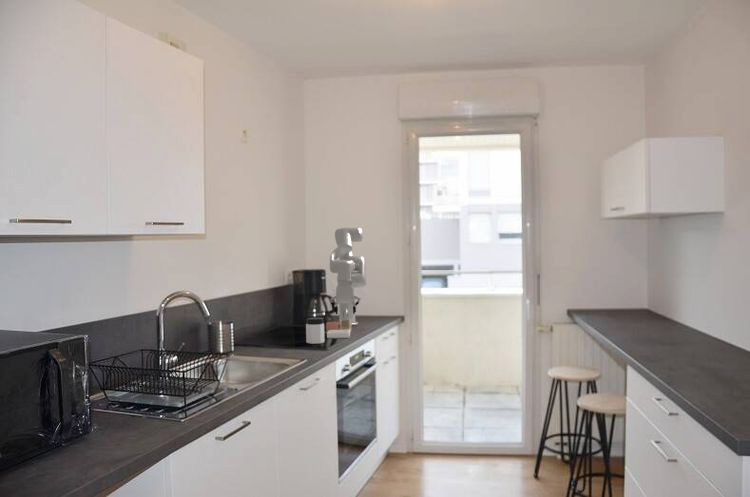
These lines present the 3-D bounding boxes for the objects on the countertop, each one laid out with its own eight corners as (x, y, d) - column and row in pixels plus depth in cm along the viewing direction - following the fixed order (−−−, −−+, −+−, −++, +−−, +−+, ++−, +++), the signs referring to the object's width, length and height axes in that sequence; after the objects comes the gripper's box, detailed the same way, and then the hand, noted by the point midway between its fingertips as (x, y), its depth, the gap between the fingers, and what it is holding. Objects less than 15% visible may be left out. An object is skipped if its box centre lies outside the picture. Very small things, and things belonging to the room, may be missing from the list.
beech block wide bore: (340, 330, 336) (340, 320, 336) (351, 330, 336) (351, 319, 336) (339, 332, 330) (339, 321, 330) (350, 332, 330) (350, 321, 330)
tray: (329, 335, 321) (329, 329, 321) (350, 334, 320) (350, 329, 320) (327, 338, 309) (326, 332, 309) (348, 337, 309) (348, 332, 309)
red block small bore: (327, 332, 330) (327, 321, 329) (338, 332, 329) (338, 321, 329) (326, 334, 324) (326, 323, 323) (337, 334, 323) (337, 323, 323)
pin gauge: (343, 331, 335) (343, 309, 334) (348, 331, 334) (347, 309, 334) (343, 331, 332) (342, 310, 332) (347, 331, 332) (347, 310, 332)
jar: (312, 340, 303) (311, 317, 303) (326, 341, 300) (326, 317, 300) (303, 343, 294) (303, 319, 294) (318, 344, 292) (318, 319, 291)
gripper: (360, 282, 337) (361, 312, 338) (329, 282, 337) (330, 312, 338) (359, 283, 329) (360, 314, 330) (328, 284, 330) (329, 315, 331)
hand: (345, 313), depth 334 cm, fingers open, 9 cm apart
